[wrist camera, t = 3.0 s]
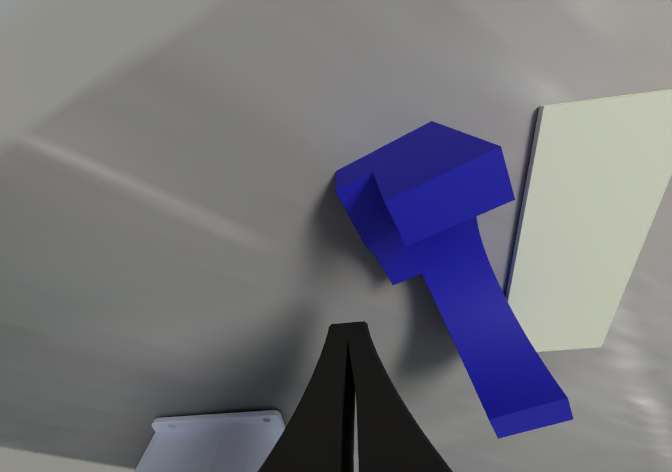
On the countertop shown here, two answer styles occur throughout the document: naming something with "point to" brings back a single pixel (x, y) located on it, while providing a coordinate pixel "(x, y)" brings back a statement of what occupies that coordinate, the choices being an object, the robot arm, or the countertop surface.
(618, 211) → the mat
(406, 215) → the cable clip
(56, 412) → the countertop surface
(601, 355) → the countertop surface
